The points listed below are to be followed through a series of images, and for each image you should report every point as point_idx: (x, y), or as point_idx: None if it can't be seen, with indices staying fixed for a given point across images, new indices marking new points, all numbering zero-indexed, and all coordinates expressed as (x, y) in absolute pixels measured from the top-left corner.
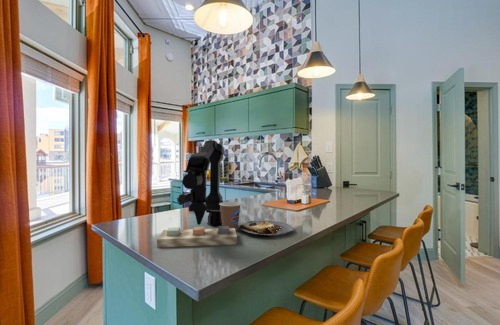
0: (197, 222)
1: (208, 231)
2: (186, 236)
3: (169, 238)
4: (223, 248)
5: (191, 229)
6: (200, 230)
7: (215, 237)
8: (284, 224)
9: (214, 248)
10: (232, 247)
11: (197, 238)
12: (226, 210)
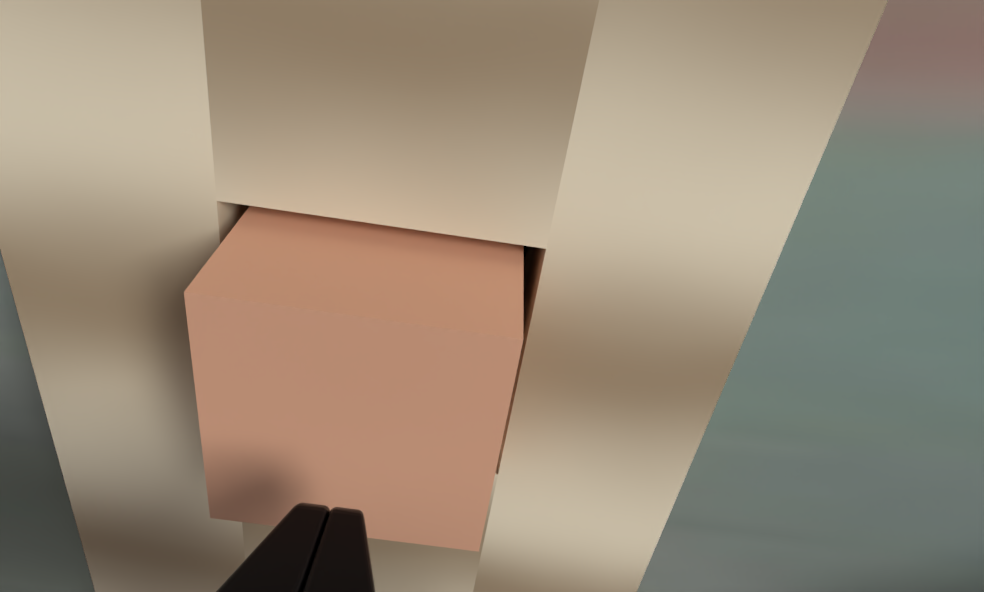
0: (250, 561)
1: None
2: (109, 53)
3: None
4: (17, 512)
5: (778, 222)
6: (208, 443)
7: (89, 554)
8: None
9: (2, 427)
10: (64, 589)
11: (24, 292)
12: None
